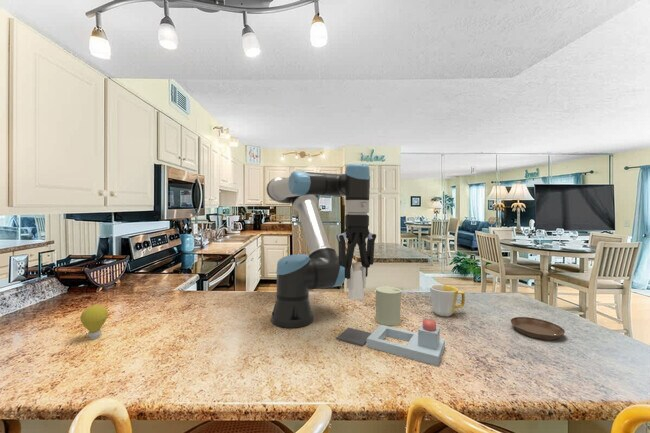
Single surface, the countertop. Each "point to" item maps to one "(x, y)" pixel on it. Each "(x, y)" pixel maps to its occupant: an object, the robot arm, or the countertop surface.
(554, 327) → the saucer
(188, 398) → the countertop surface
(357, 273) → the pepper shaker
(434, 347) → the frame
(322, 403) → the countertop surface
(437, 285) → the mug
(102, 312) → the light bulb
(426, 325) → the plunger
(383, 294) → the can
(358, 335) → the mat
